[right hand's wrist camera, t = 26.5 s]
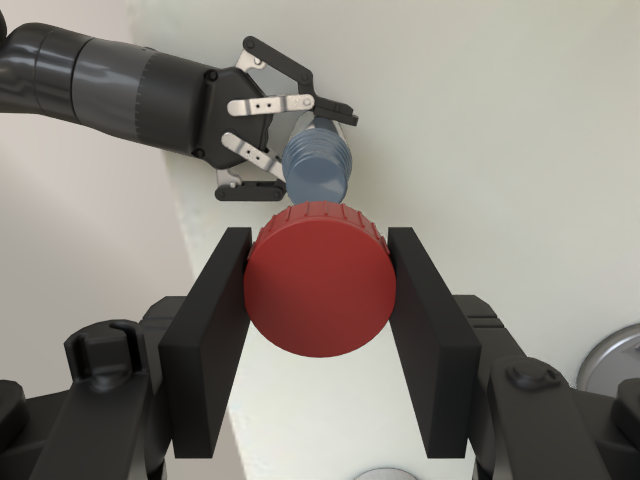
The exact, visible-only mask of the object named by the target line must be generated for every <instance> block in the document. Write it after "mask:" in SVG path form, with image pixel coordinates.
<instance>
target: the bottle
mask: <svg viewBox="0 0 640 480" xmlns="http://www.w3.org/2000/svg"><path fill="white" fill-rule="evenodd" d="M351 170H352V157H351V153H350V150H349V147H348V145H347V142H346V140H345V137H344V135H343V132H342V130H341V127H340V125H339V122H337V121H334V120H330V119H327V118H324V117H319V116H315V115H313V112H311V111H307V112H305V113H304V114H302V115H301V116H300V117H299V119H298V120H297V122H296V124H295V126H294V129H293V131H292V133H291V136H290V138H289V140H288V143H287V145H286V147H285V149H284V152H283V156H282V172H283V176H284V178H285V181H286V190H287V193H288V196H289V197H290V199H291V200H292V202H293V203H294V204H295V205H298V204H301V203H305V201H308V202H313V201H324V200H327V202H333V203H338V204H340V203H341V202H342V200H343V199H344V197H345V195H346V191H347V183H348V180H349V178H350V175H351Z"/></svg>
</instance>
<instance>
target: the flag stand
mask: <svg viewBox="0 0 640 480" xmlns="http://www.w3.org/2000/svg"><path fill="white" fill-rule="evenodd" d="M355 480H416V479H415V478H414V477H413V476H412V475H410V474H408V473H406V472H404V471H401V470H397V469H389V468H384V469H376V470H372V471H368V472H366V473H364V474H362V475H360V476H359V477H357V478H356V479H355Z"/></svg>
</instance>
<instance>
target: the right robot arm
mask: <svg viewBox="0 0 640 480" xmlns="http://www.w3.org/2000/svg"><path fill="white" fill-rule="evenodd" d="M251 247H252V231H251V227H228V228H227V230H226V231H225V233H224V235H223V236H222V238H221V240H220V241H219V243H218V245H217V247H216V248H215V250H214V252H213V253H212V255H211V257H210V258H209V260H208V262H207V263H206V265H205V267H204V268H203V270H202V272H201V273H200V275H199V277H198V278H197V280H196V282H195V283H194V285H193V287H192V289H191V290H190V292H189V294H188V295H187V296H166V297H164V298H163V299H161V300H160V301H158V302H157V303H155V304H154V305H152V306H151V307H150V308H149V310H148V311H147V312H146V314H145V315H144V316H143V320H141V321H140V322H139V323H137V322H134V321H130V320H124V319H122V320H108V321H103V322H98V323H95V324H92V325H89V326H87V327H84V328H82V329H80V330H79V331H77V332H75V333H74V334H72V335H71V336H70V337H69V338H68V339H67V340H66V341H65V342H64V347H65V351H66V356H67V360H68V364H69V368H70V371H71V376H72V380H73V383H72V386H71V388H70V389H69V390H66V391H62V392H59V393H54V394H49V395H44V396H39V397H35V398H30V399H26V398H25V395H24V392H23V388H22V386H20V385H19V384H18V383H17V382H15V381H9V380H0V480H167V471H166V465H165V459H164V457H165V454H166V452H167V449H168V447H169V444H170V442H171V439H172V442H173V448H174V455H175V458H212V457H213V453H214V450H215V446H216V442H217V439H218V435H219V432H220V428H221V425H222V421H223V417H224V414H225V410H226V407H227V403H228V400H229V396H230V392H231V389H232V385H233V382H234V378H235V374H236V371H237V367H238V364H239V360H240V357H241V353H242V349H243V346H244V342H245V339H246V335H247V331H248V328H249V324H250V321H251V319H250V317H249V315H248V313H247V311H246V308H245V298H244V283H243V276H244V272H245V269H246V266H247V263H248V261H246V260H247V257H248V255H249V252H250V250H251ZM387 247H388V249H389V252H390V255H389V256H390V259H391V261H392V264H393V267H394V271H395V274H396V294H395V305H394V309H393V312H392V314H391V316H390V318H389V322H390V325H391V329H392V332H393V336H394V340H395V343H396V347H397V350H398V354H399V358H400V361H401V365H402V368H403V372H404V375H405V379H406V383H407V386H408V390H409V393H410V397H411V401H412V404H413V408H414V411H415V415H416V418H417V422H418V426H419V429H420V433H421V436H422V440H423V444H424V447H425V451H426V454H427V458H465V453H466V446H467V440H468V438H469V440H470V443H471V445H472V448H473V450H474V453H475V455H476V458H475V464H474V470H473V476H472V480H640V324H637V325H633V326H630V327H627V328H624V329H622V330H620V331H618V332H616V333H614V334H612V335H611V336H609V337H608V338H606V339H605V340H603V341H602V342H601V343H600V344H599V345H597V346H596V347H595V348H594V349H593V350H592V352H591V353H590V354H589V355H588V357H587V358H586V359H585V361H584V363H583V365H582V367H581V369H580V372H579V375H578V380H577V389H574V388H570V387H569V385H568V382H567V381H566V379H565V378H564V377H563V375H562V374H561V373H560V372H559V371H557V370H556V369H555V368H553V367H552V366H550V365H549V364H547V363H544V362H542V361H540V360H538V359H535V358H531V357H527V356H526V355H525V353H524V352H523V351H522V349H521V348H520V346H519V345H518V344H517V342H516V341H515V340H514V338H513V337H512V336H511V334H510V333H509V331H508V330H507V329H506V328H504V325H503V323H502V322H501V320H500V319H499V318H497V315H496V314H495V312H494V311H493V309H492V308H491V307H490V305H489V304H487V303H486V302H484V301H483V300H481V299H480V298H478V297H476V296H475V295H452V294H451V292H450V291H449V289H448V287H447V286H446V284H445V282H444V281H443V279H442V277H441V276H440V274H439V272H438V271H437V269H436V267H435V265H434V264H433V262H432V260H431V259H430V257H429V255H428V254H427V252H426V250H425V249H424V247H423V245H422V244H421V242H420V240H419V239H418V237H417V235H416V234H415V232H414V230H413V228H412V227H388V243H387Z"/></svg>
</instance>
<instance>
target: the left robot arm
mask: <svg viewBox="0 0 640 480" xmlns="http://www.w3.org/2000/svg"><path fill="white" fill-rule="evenodd" d="M6 35H7V27H6V22H5V19H4V17H3V15H2V13H1V10H0V113H29V114H40V115H45V116H48V117H52V118H56V119H60V120H64V121H68V122H72V123H76V124H80V125H84V126H87V127H90V128H93V129H96V130H98V131H101V132H103V133H105V134H108V135H111V136H114V137H117V138H121V139H125V140H129V141H133V142H136V143H140V144H145V145H148V146H152V147H156V148H160V149H164V150H167V151H171V152H175V153H179V154H183V155H187V156H191V157H195V158H199V159H202V160H204V161H206V162H207V163H209V164H210V165H211V166H212V167H213V168H215V169H216V170H217V182H218V188H217V189H216V191H215V197H216V198H217V199H218V200H219V201H280V200H282V198H283V196H284V195H285V193H286V192H287V190H286V181H285V178H284V176H283V172H282V157H281V156H279V155H278V154H277V153H276V152H275V151H274V150H272V149H271V148H269V147H268V146H267V142H268V128H269V126H270V124H271V122H272V119H273V115H274V113H281V112H288V111H300V110H308V111H311V112H313V115H315V116H319V117H324V118H327V119H330V120H334V121H337V122H341V123H345V124H348V125H352V126H356V125H357V122H358V117H357V116H355V115H352V113H353V109H352V108H351V107H350V106H348V105H347V104H343V103H339V102H336V101H332V100H329V99H325V98H321V97H319V96H317V95H316V94H315V92H314V88H313V74H312V72H311V71H310V70H308V69H307V68H305V67H303V66H302V65H300V64H298V63H297V62H295V61H293V60H292V59H290V58H288V57H287V56H285V55H283V54H282V53H280V52H278V51H277V50H275V49H273V48H272V47H270V46H268V45H267V44H265V43H263V42H262V41H260V40H259V39H257V38H255V37H253V36H248V37H246V38H245V39H244V41H243V50H242V53H241V55H240V57H239V59H238V61H237V63H236V66H235V67H229V68H225V69H219V68H215V67H212V66H208V65H204V64H201V63H197V62H194V61H190V60H186V59H183V58H179V57H176V56H172V55H168V54H165V53H161V52H158V51H156V50H154V49H152V48H148V47H140V46H136V45H133V44H128V43H123V42H116V41H109V40H103V39H98V38H94V37H91V36H87V35H84V34H80V33H76V32H73V31H69V30H65V29H63V28H59V27H55V26H51V25H48V24H43V23H26V24H23V25H21V26H19V27H18V28H16V29H15V30H13V31H12V32H11V33H10V34H9V35H8V36H7V37H6ZM267 64H268V65H270V66H271V67H273V68H275V69H277V70H278V71H280V72H282V73H283V74H285V75H287V76H288V77H290V78H292V79H293V80H295V81H297V82H298V90H299V94H284V95H271V96H266V95H265V94H264V93H263V91H262V90H261V89H260V88H259V86H258V85H257V84H256V83H255V82H254V80H253V79H252V78H251V77H250V75H249V74H248V73H247V72H248V70H249V69H251V68H255V69H264V68H265V67H266V66H267ZM257 157H258V158H259V159H258V158H257ZM246 161H250V162H252V163H253V164H255V165H256V166H258V167H259V168H261V169H262V170H264V171H267V172H270V173H271V174H273V175H274V176H276V177H277V178H278V179H277V180H276V181H243V179H242V177H241V176H240V175H237V174H233V173H232V172H231V171H230V170H229V168H231V167H233V166H236V165H238V164H241V163H243V162H246Z"/></svg>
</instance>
